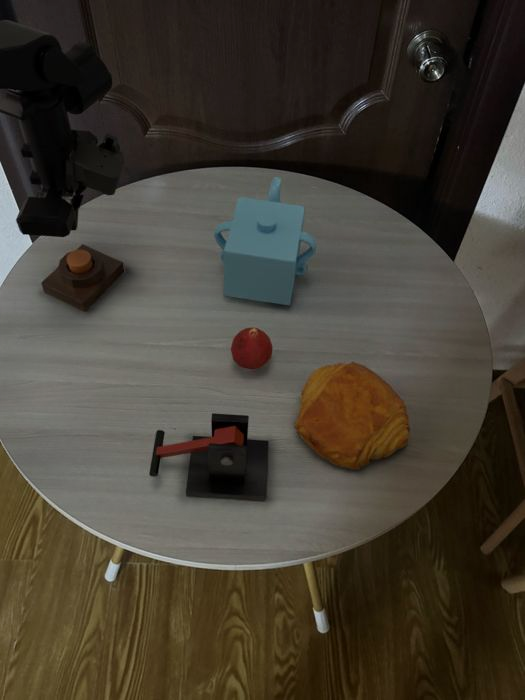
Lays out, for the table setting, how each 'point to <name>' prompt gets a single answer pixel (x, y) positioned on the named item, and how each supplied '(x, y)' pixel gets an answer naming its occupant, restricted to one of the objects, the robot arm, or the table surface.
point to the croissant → (351, 415)
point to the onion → (251, 348)
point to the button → (79, 261)
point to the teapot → (264, 248)
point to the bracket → (229, 465)
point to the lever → (192, 445)
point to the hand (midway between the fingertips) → (73, 228)
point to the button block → (83, 280)
